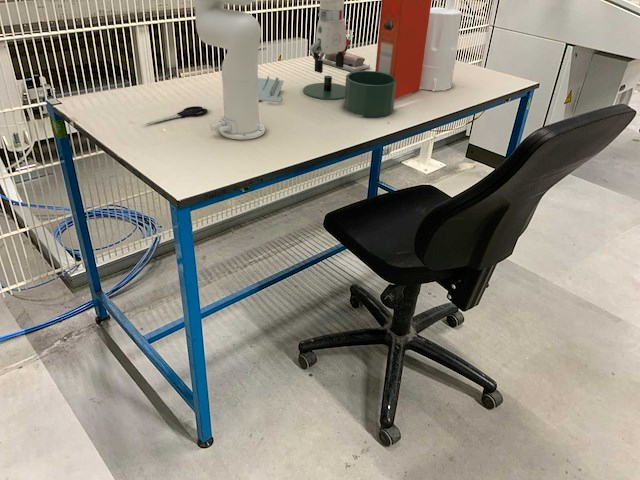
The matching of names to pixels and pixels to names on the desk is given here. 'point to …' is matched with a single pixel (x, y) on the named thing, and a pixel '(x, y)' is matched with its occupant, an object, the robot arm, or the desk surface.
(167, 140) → the desk surface
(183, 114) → the scissors
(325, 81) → the lid
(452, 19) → the white cylindrical canister
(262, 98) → the metal bracket
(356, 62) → the packaged product
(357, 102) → the pot
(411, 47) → the file binder
